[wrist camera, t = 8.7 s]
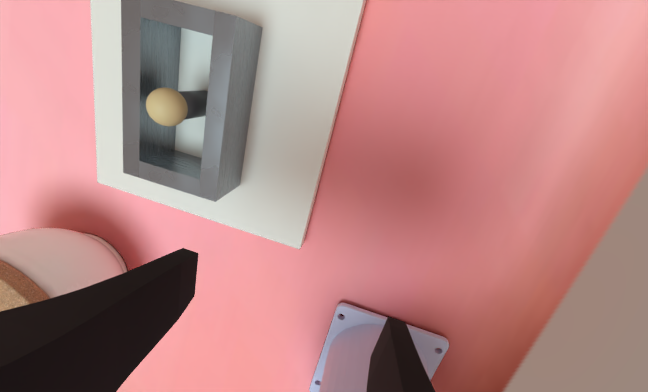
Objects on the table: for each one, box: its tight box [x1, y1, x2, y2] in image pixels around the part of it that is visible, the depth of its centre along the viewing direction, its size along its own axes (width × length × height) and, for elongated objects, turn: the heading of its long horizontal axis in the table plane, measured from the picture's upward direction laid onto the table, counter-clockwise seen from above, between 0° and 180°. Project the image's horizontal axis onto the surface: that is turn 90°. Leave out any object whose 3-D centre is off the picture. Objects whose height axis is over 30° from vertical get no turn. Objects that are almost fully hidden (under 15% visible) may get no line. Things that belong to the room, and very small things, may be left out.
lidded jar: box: [0, 228, 128, 311], centre depth 22 cm, size 11×11×9 cm
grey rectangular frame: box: [121, 0, 263, 202], centre depth 17 cm, size 9×6×3 cm, turn 167°
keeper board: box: [90, 0, 366, 249], centre depth 17 cm, size 15×15×5 cm
